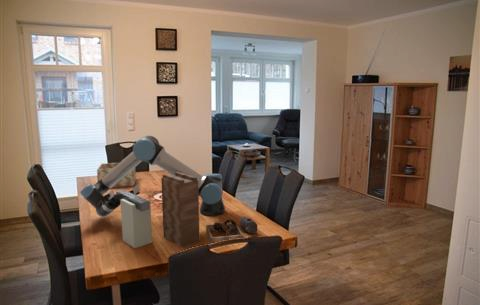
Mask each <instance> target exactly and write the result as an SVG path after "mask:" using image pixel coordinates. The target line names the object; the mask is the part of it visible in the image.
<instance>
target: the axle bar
mask: <svg viewBox="0 0 480 305" xmlns="http://www.w3.org/2000/svg"><path fill="white" fill-rule="evenodd" d="M115 192H116V193H115V194H116V199H118V200H121V199H125V200H127V201H129V202H131V203H133V204H135V208H136V209H138V210H140V211H146V210H150V206H151V201H150V200H149V201H148V199H146V198H144V197H142V196H140V197H139V195H135V194H132V193H130V192H129V191H127V190H125V189H120V190H117V191H115ZM141 197H142V198H141Z"/></svg>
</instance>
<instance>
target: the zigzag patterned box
mask: <svg viewBox="0 0 480 305" xmlns="http://www.w3.org/2000/svg"><path fill="white" fill-rule="evenodd" d="M119 163H120V162H109V163H108V162H106V163H100V165H99V166H98V168H97V169H96V174H97V182H98V181H99V180H101V179H102V178H103V177H104V176H105V175H106V174H107V173H109V172H110V171H111V170H112V169H113V168H114V167H115V166H117V165H118V164H119ZM136 172H137V171H136V167H135V168H133V169H132V170H131V171H130V172H129V173H128V174H126V175H125V176H124V177H123V178H122V179H121V180H119V181H118V182H117V183H116V184H115V185H114V186H113V187H112V188H117V187H118V188H119V187H130V186H131V187H133V186H136V185H135V184H136V181H137V173H136Z"/></svg>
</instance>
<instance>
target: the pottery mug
mask: <svg viewBox="0 0 480 305" xmlns="http://www.w3.org/2000/svg"><path fill="white" fill-rule="evenodd" d="M227 223H232V224H234V225H235V228H234V229H229V226H226V224H227ZM212 225H213V228H214V229H215V230H216V231H215V232H217V233H218V234H220V232H221V231H224V232H225V236H233V235H235V234H236V233H237V232H236V231H237V226H238V224H237V223H236V221H235V220H233V219H230V218H228V219H224V220H223V221H222V222H214V224H212ZM216 226H218V228H217V227H216Z"/></svg>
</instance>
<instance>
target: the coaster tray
mask: <svg viewBox="0 0 480 305" xmlns="http://www.w3.org/2000/svg"><path fill="white" fill-rule="evenodd" d="M213 225H214V224H207V225H205V230H206V234H207V237H208V239H209V242H210V244H211V243H215V242H219V241H223V240H229V239H237V238H243V239H244V234H243V232H242V230H241V229H240V228H239V225H237V231H236V232H235V233H236V234H232V235H230V236H226V235H225V236H224V235H223V236H214V237H213V236H212V232H214V231H215V232H217V231H216V230H215V229H214V228H213ZM226 226H229V229H228V230H230V229H234V228H235V225H234V224H232V223H231V222H229V223H227V224H226ZM216 227H217V228H218V226H216Z"/></svg>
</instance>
